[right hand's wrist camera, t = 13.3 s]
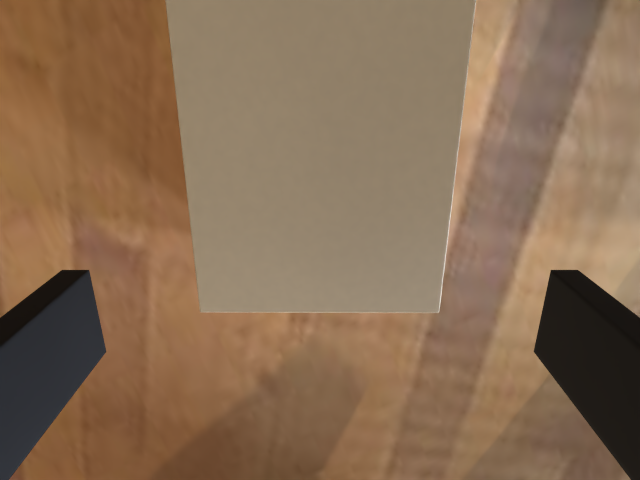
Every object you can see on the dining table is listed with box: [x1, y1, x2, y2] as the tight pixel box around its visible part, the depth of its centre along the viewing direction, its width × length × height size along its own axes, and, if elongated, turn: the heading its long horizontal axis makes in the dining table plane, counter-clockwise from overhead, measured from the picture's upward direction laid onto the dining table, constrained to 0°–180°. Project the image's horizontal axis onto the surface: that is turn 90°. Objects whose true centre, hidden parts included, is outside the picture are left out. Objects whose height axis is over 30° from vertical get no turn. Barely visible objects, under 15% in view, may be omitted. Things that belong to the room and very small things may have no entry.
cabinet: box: [165, 0, 476, 313], centre depth 21 cm, size 18×11×9 cm, turn 0°
